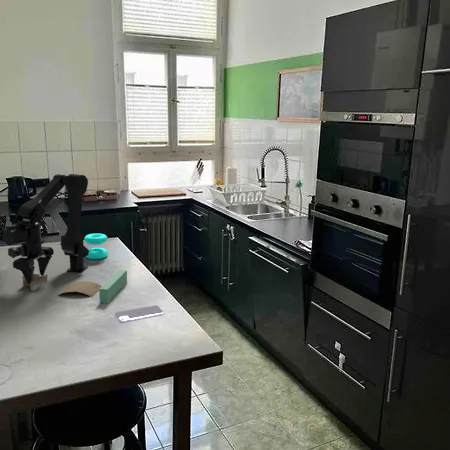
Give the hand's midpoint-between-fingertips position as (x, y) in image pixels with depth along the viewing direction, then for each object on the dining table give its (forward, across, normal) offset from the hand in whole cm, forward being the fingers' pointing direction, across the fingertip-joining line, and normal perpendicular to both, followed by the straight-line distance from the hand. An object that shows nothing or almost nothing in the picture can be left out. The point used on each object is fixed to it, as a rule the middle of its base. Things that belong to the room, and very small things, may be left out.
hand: (35, 279), depth 170 cm
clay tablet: (+4, +2, +18) cm, 19 cm away
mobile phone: (+3, +18, +45) cm, 49 cm away
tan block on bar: (+3, 0, -1) cm, 3 cm away
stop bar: (+3, +1, +31) cm, 31 cm away
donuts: (+3, -38, +8) cm, 39 cm away
